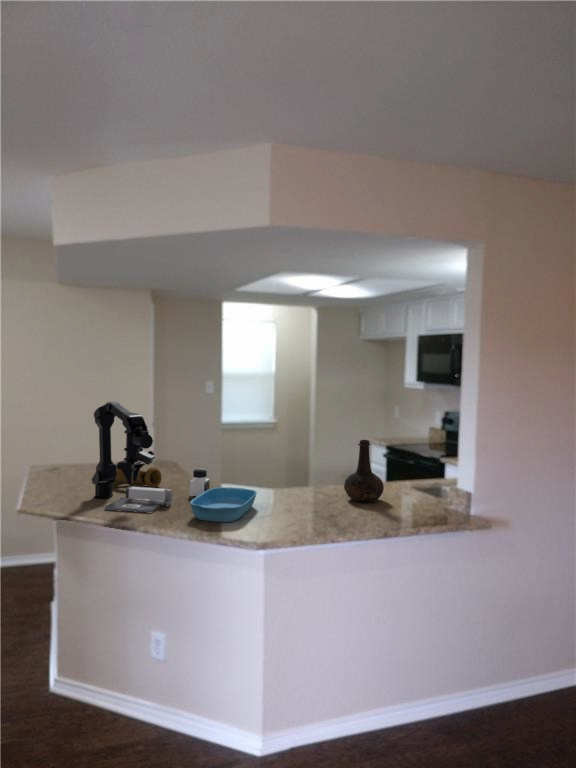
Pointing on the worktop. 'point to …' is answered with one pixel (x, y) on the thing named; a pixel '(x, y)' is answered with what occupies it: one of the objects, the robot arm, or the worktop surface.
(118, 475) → the brown looped sculpture
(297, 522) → the worktop surface
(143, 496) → the swing arm
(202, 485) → the medicine bottle
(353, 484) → the glass bottle
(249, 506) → the casserole dish
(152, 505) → the label board
